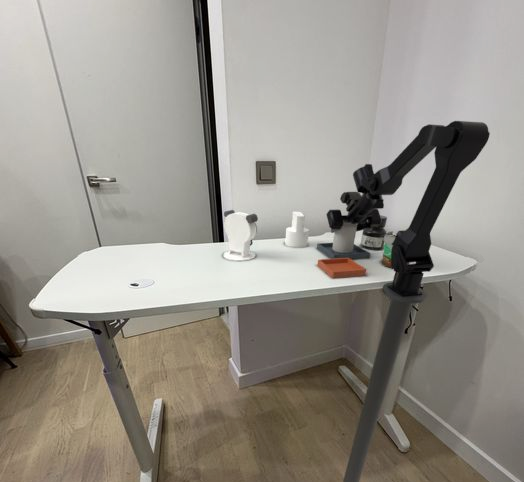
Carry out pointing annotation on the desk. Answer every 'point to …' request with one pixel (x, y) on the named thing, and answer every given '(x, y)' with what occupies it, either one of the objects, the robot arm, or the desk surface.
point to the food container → (388, 248)
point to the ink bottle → (374, 236)
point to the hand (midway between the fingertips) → (343, 231)
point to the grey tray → (355, 254)
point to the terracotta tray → (341, 267)
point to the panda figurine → (240, 235)
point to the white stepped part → (297, 231)
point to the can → (344, 239)
